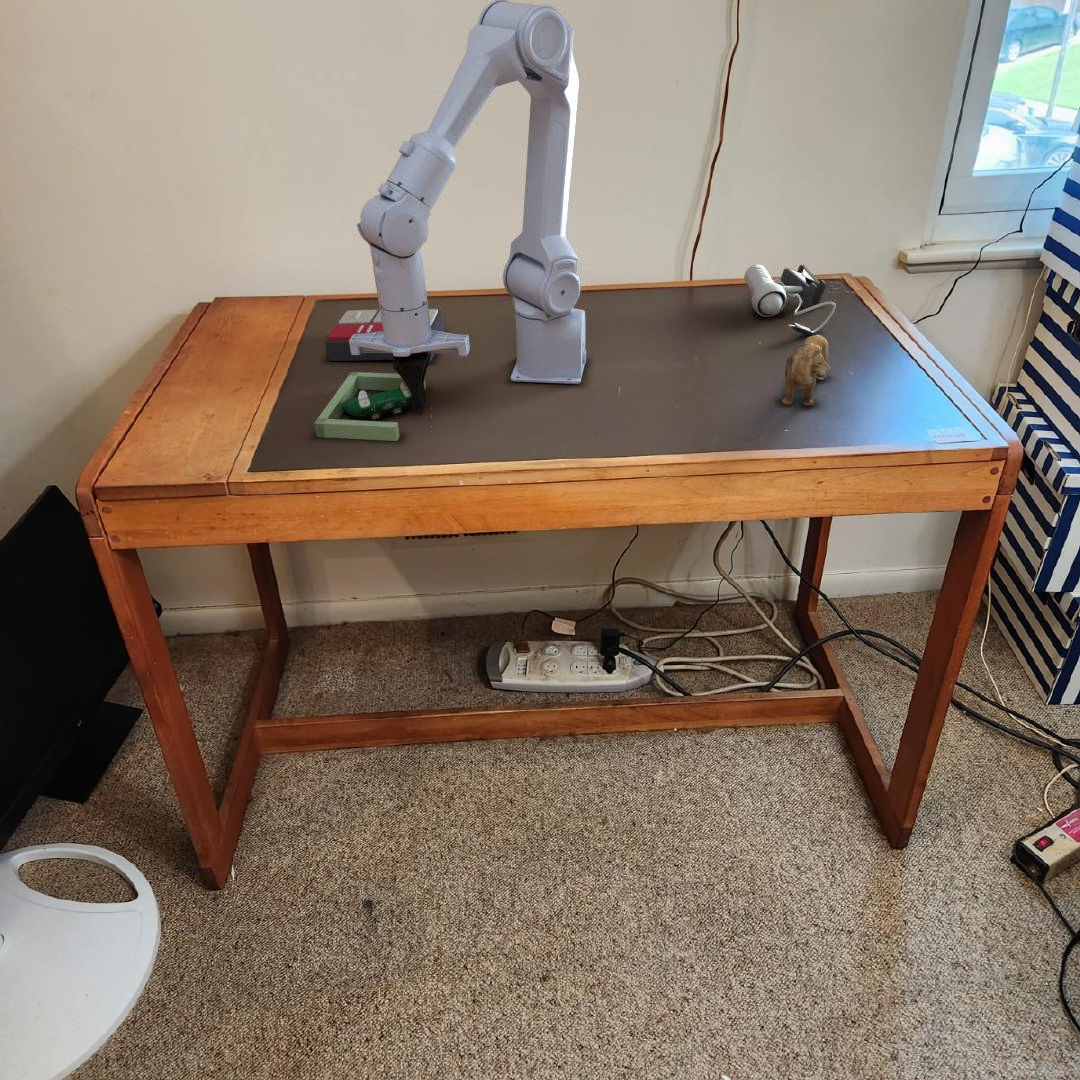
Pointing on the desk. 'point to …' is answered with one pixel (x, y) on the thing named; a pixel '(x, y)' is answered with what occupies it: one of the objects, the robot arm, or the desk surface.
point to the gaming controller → (378, 402)
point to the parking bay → (357, 429)
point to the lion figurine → (806, 368)
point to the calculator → (364, 324)
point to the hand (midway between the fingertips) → (418, 405)
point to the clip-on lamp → (773, 297)
